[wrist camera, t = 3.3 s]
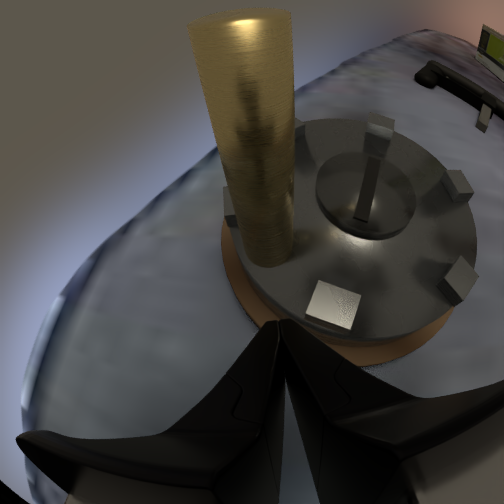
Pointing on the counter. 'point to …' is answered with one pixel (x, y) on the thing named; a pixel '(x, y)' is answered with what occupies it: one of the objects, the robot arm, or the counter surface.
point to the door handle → (461, 90)
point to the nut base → (353, 354)
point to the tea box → (491, 51)
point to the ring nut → (328, 196)
